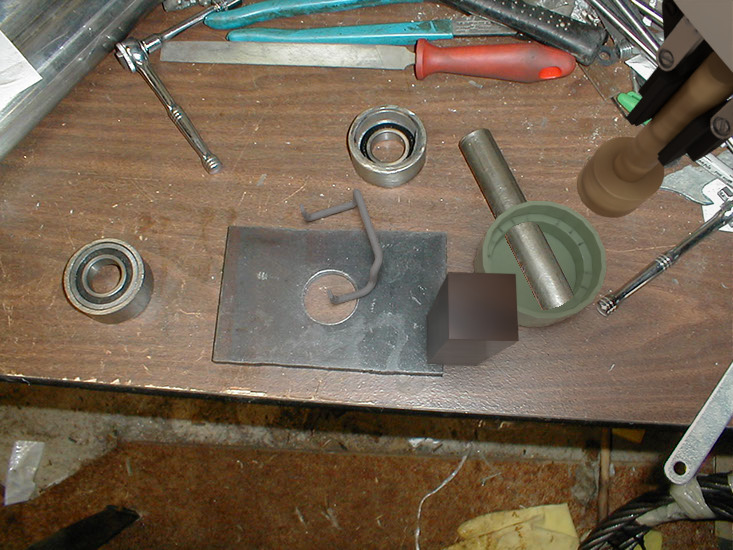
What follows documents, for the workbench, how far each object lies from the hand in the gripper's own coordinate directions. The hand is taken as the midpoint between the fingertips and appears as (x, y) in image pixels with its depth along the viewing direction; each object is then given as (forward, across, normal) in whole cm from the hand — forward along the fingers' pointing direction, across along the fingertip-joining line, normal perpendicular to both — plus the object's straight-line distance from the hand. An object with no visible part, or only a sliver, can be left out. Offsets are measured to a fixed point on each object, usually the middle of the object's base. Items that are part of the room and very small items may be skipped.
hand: (666, 129), depth 30 cm
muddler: (+8, 0, 0) cm, 8 cm away
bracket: (+40, +15, +15) cm, 45 cm away
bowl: (+40, +1, -5) cm, 40 cm away
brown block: (+40, -2, +8) cm, 41 cm away
